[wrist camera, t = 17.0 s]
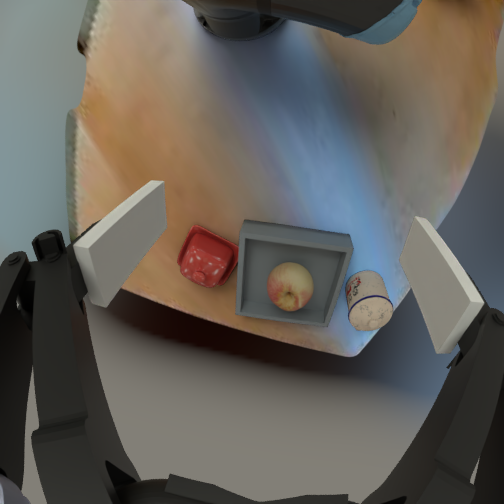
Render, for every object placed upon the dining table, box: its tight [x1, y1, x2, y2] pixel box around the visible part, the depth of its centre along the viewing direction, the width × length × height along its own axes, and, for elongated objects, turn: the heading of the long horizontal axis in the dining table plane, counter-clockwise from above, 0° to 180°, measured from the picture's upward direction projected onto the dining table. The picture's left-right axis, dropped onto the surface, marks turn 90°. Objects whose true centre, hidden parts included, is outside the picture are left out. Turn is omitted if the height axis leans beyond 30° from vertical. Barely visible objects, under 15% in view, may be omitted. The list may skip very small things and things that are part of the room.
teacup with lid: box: [345, 271, 393, 331], centre depth 53 cm, size 12×9×12 cm
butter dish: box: [177, 225, 239, 288], centre depth 55 cm, size 12×12×8 cm
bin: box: [235, 220, 354, 327], centre depth 56 cm, size 20×20×5 cm
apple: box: [267, 262, 314, 311], centre depth 53 cm, size 9×9×8 cm
